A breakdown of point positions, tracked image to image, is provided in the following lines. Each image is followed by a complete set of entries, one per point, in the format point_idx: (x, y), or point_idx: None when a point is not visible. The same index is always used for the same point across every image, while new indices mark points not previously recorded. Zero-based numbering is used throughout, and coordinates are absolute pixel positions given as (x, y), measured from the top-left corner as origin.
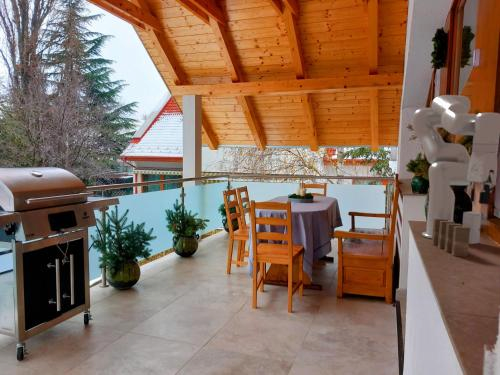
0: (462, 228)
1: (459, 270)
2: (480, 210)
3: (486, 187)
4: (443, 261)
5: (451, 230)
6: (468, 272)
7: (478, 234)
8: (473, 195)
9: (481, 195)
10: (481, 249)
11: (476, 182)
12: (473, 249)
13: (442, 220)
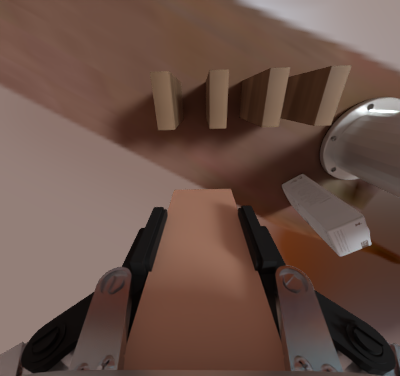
0: (154, 100)
1: (25, 20)
2: (172, 195)
3: (62, 326)
4: (101, 14)
5: (208, 86)
6: (20, 40)
7: (299, 212)
8: (245, 236)
9: (141, 245)
10: (240, 183)
11: (141, 370)
12: (239, 167)
13: (319, 101)
